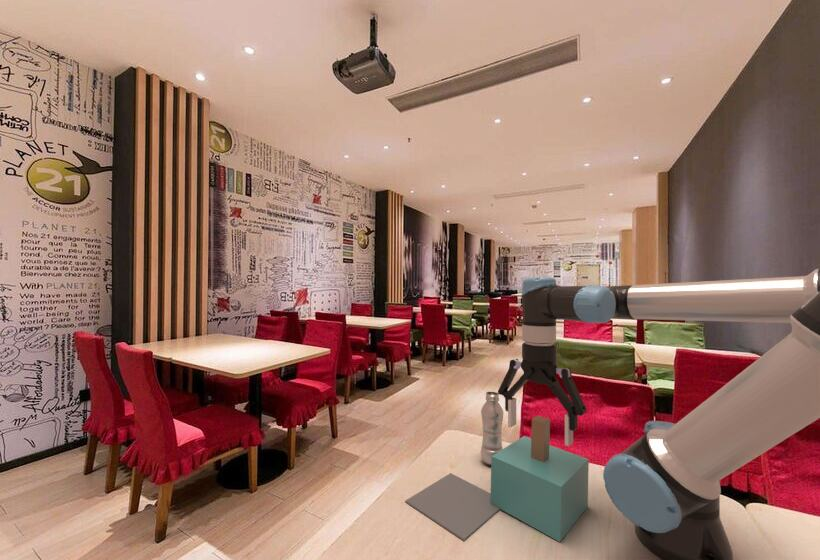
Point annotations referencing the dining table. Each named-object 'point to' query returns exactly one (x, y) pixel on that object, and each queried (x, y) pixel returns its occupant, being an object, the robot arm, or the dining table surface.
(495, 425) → the plastic bottle
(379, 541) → the dining table surface
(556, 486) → the teal base with peg
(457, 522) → the mat
